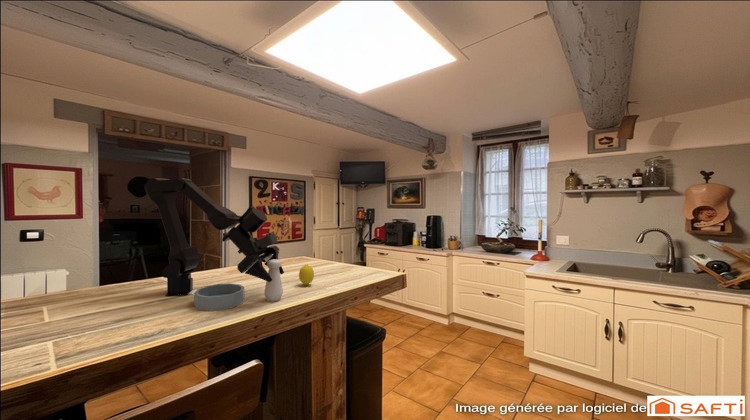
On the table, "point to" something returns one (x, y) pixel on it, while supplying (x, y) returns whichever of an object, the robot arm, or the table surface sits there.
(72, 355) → the table surface
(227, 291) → the bowl
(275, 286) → the salt shaker
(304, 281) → the lemon
